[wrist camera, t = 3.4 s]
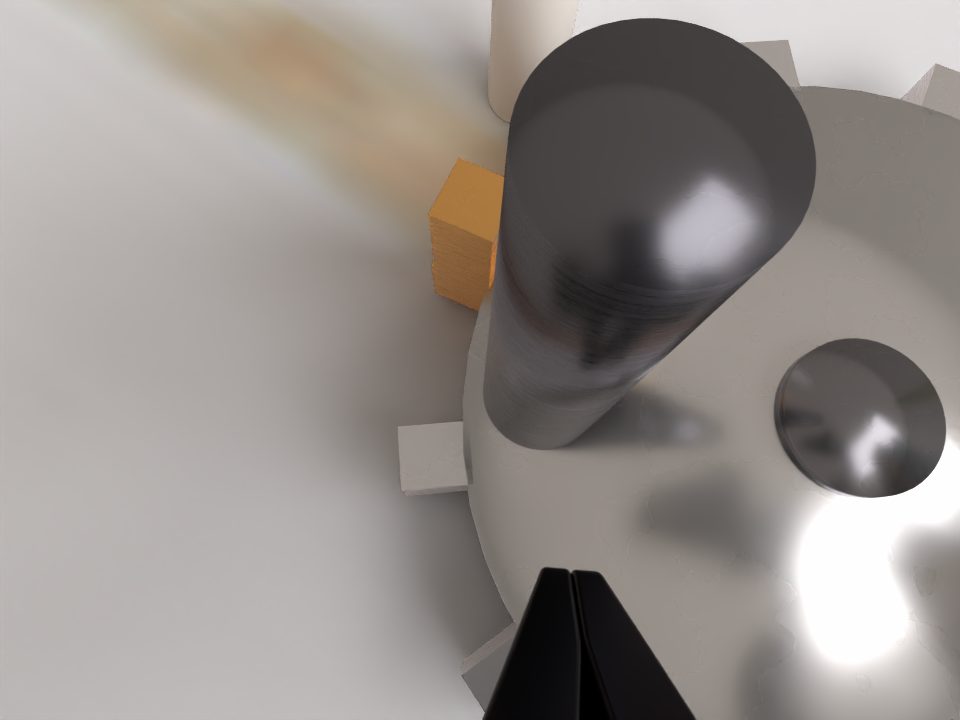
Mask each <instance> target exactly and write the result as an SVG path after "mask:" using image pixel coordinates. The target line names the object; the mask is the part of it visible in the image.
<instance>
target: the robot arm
mask: <svg viewBox="0 0 960 720" xmlns="http://www.w3.org/2000/svg"><path fill="white" fill-rule="evenodd" d="M482 720H697V718H696V717H695V715H694V714H693V712H692V711H691V709H690V708H689V706H688V705H687V703H686V702H685V700H684V699H683V697H682V695H681V694H680V692H679V691H678V689H677V688H676V686H675V685H674V683H673V682H672V680H671V679H670V677H669V676H668V674H667V673H666V671H665V670H664V668H663V667H662V665H661V663H660V662H659V660H658V659H657V657H656V656H655V654H654V653H653V651H652V650H651V648H650V647H649V645H648V644H647V642H646V641H645V639H644V638H643V636H642V634H641V633H640V631H639V630H638V628H637V627H636V625H635V624H634V622H633V621H632V619H631V618H630V616H629V615H628V613H627V612H626V610H625V609H624V607H623V606H622V604H621V602H620V601H619V599H618V598H617V596H616V595H615V593H614V592H613V590H612V589H611V587H610V586H609V584H608V583H607V581H606V580H605V578H604V577H603V575H602V574H601V573H599V572H597V571H588V570H577V569H576V570H573V571H572V572H571V573H570V571H569V570H568V569H565V568H554V567H543V568H542V569H541V570H540V573H539V575H538V578H537V580H536V583H535V585H534V588H533V591H532V593H531V596H530V598H529V601H528V603H527V606H526V608H525V611H524V614H523V616H522V619H521V621H520V624H519V626H518V629H517V632H516V634H515V637H514V639H513V642H512V644H511V647H510V649H509V652H508V655H507V657H506V660H505V662H504V665H503V667H502V670H501V673H500V675H499V678H498V680H497V683H496V685H495V688H494V690H493V693H492V696H491V698H490V701H489V703H488V706H487V708H486V711H485V714H484V716H483V719H482Z"/></svg>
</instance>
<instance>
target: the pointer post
mask: <svg viewBox="0 0 960 720" xmlns="http://www.w3.org/2000/svg"><path fill="white" fill-rule="evenodd" d="M579 1H580V0H492V16H491V38H490V59H489V81H488V100H489V103H490V106H491V108H492V110H493V111H494V112H495V113H496V115H497V116H499V117H500V118H501V119H503V120H504V121H506V122H508V123H510V120H511V116H512V113H513V109H514V105H515V102H516V100H517V98H518V96H519V93H520V91H521V89H522V87H523V85H524V84H525V82H526V81H527V79H528V77H529V76H530V74H531V73H532V72H533V71H534V69H535V68H536V67H537V66H538V65H539V64H540V62H541V61H542V60H543V59H544V58H545V57H547V56H548V55H549V54H550V53H551V52H552V51H553V50H554V49H556V48H557V47H559V46H560V45H562V44H563V43H564V42H566V41H567V40H569V39H571V38H572V35H573V30H574V25H575V21H576V16H577V11H578V6H579Z"/></svg>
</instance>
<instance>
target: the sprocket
mask: <svg viewBox="0 0 960 720" xmlns="http://www.w3.org/2000/svg"><path fill="white" fill-rule="evenodd" d="M429 222H430V231H431V239H432V248H433V256H434V262H433V263H432V265H431V266H432V274H433V281H434V289H435V293H438V294H440V295H442V296H444V297H447V298H449V299H451V300H453V301H456V302H458V303H460V304H462V305H465V306H467V307H469V308H471V309H473V310H476V311H478V312H479V313H478V317H477V320H476V324H475V328H474V332H473V336H472V340H471V343H470V347H469V351H468V358H467V366H466V375H465V383H464V392H463V400H462V412H463V421H457V422H445V423H433V424H421V425H409V426H397V428H398V446H399V464H400V482H401V491H402V492H403V493H405V494H406V495H407V496H413V495H424V494H436V493H447V492H459V491H468V496H469V502H470V509H471V513H472V516H473V520H474V523H475V527H476V531H477V534H478V538H479V541H480V545H481V548H482V552H483V556H484V558H485V561H486V563H487V565H488V568H489V570H490V573H491V575H492V577H493V580H494V582H495V584H496V587H497V589H498V591H499V594H500V596H501V598H502V601H503V603H504V605H505V607H506V609H507V610H508V612H509V614H510V616H511V617H512V619H513V621H514V622H513V623H511V624H510V625H509V626H507V627H506V628H505V629H503V630H502V631H501V632H499V633H498V634H497V635H496V636H494V637H493V638H492V639H490V640H489V641H488V642H486V643H485V644H484V645H482V646H481V647H480V648H478V649H477V650H476V651H474V652H473V653H472V654H470V655H469V656H468V657H467V658H465V659H464V660H463V661H462V677H463V679H464V680H465V682H466V683H467V685H468V686H469V688H470V690H471V691H472V693H473V694H474V696H475V697H476V699H477V701H478V702H479V704H480V705H481V707H482V708H483V710H484V712H485V711H486V708H487V706H488V703H489V701H490V698H491V696H492V693H493V690H494V688H495V685H496V683H497V680H498V678H499V675H500V673H501V670H502V667H503V665H504V662H505V660H506V657H507V655H508V652H509V649H510V647H511V644H512V642H513V639H514V637H515V634H516V632H517V629H518V626H519V624H520V621H521V619H522V616H523V614H524V611H525V608H526V606H527V603H528V601H529V598H530V596H531V593H532V591H533V588H534V585H535V583H536V580H537V578H538V575H539V573H540V570H541V569H542V568H543V567H554V568H565V569H568V570H569V571H570V573H571V572H572V571H573V570H576V569H577V570H588V571H597V572H599V573H601V574H602V575H603V577H604V578H605V580H606V581H607V583H608V584H609V586H610V587H611V589H612V590H613V592H614V593H615V595H616V596H617V598H618V599H619V601H620V602H621V604H622V606H623V607H624V609H625V610H626V612H627V613H628V615H629V616H630V618H631V619H632V621H633V622H634V624H635V625H636V627H637V628H638V630H639V631H640V633H641V634H642V636H643V638H644V639H645V641H646V642H647V644H648V645H649V647H650V648H651V650H652V651H653V653H654V654H655V656H656V657H657V659H658V660H659V662H660V663H661V665H662V667H663V668H664V670H665V671H666V673H667V674H668V676H669V677H670V679H671V680H672V682H673V683H674V685H675V686H676V688H677V689H678V691H679V692H680V694H681V695H682V697H683V699H684V700H685V702H686V703H687V705H688V706H689V708H690V709H691V711H692V712H693V714H694V715H695V717H696V718H697V720H960V72H957V71H954V70H952V69H949V68H947V67H944V66H941V65H939V64H935V65H934V66H933V67H932V68H931V69H930V70H929V71H928V72H927V73H926V74H925V75H924V76H923V77H922V78H921V79H920V80H919V81H918V82H917V83H916V84H915V85H914V86H913V87H912V88H911V89H910V90H909V91H908V92H907V93H906V94H905V95H904V96H903V97H902V99H901V100H900V99H895V98H890V97H886V96H881V95H876V94H872V93H867V92H863V91H855V90H846V89H836V88H827V87H817V86H804V87H800V86H799V82H798V78H797V74H796V70H795V66H794V62H793V58H792V54H791V50H790V46H789V42H788V40H779V41H762V42H746V43H739V42H737V41H735V40H734V39H732V38H730V37H728V36H725V35H723V34H721V33H719V32H716V31H714V30H711V29H708V28H705V27H702V26H699V25H696V24H692V23H687V22H682V21H678V20H669V19H659V18H639V19H630V20H622V21H617V22H612V23H608V24H604V25H601V26H598V27H595V28H592V29H590V30H587V31H584V32H583V33H581V34H579V35H577V36H575V37H573V38H571V39H569V40H567V41H566V42H564V43H563V44H562V45H560V46H559V47H557V48H556V49H554V50H553V51H552V52H551V53H550V54H549V55H548V56H547V57H545V58H544V59H543V60H542V61H541V62H540V64H539V65H538V66H537V67H536V68H535V69H534V71H533V72H532V73H531V74H530V76H529V77H528V79H527V81H526V82H525V84H524V85H523V87H522V89H521V91H520V93H519V96H518V98H517V100H516V102H515V105H514V109H513V113H512V116H511V120H510V127H509V136H508V146H507V156H506V166H505V175H504V177H503V176H501V175H498V174H496V173H494V172H491V171H489V170H486V169H484V168H482V167H479V166H477V165H475V164H472V163H470V162H468V161H465V160H463V159H461V158H459V159H458V160H457V162H456V164H455V166H454V168H453V170H452V172H451V173H450V175H449V177H448V179H447V181H446V183H445V185H444V186H443V188H442V190H441V192H440V194H439V196H438V197H437V199H436V201H435V203H434V205H433V207H432V209H431V210H430V212H429Z"/></svg>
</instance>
